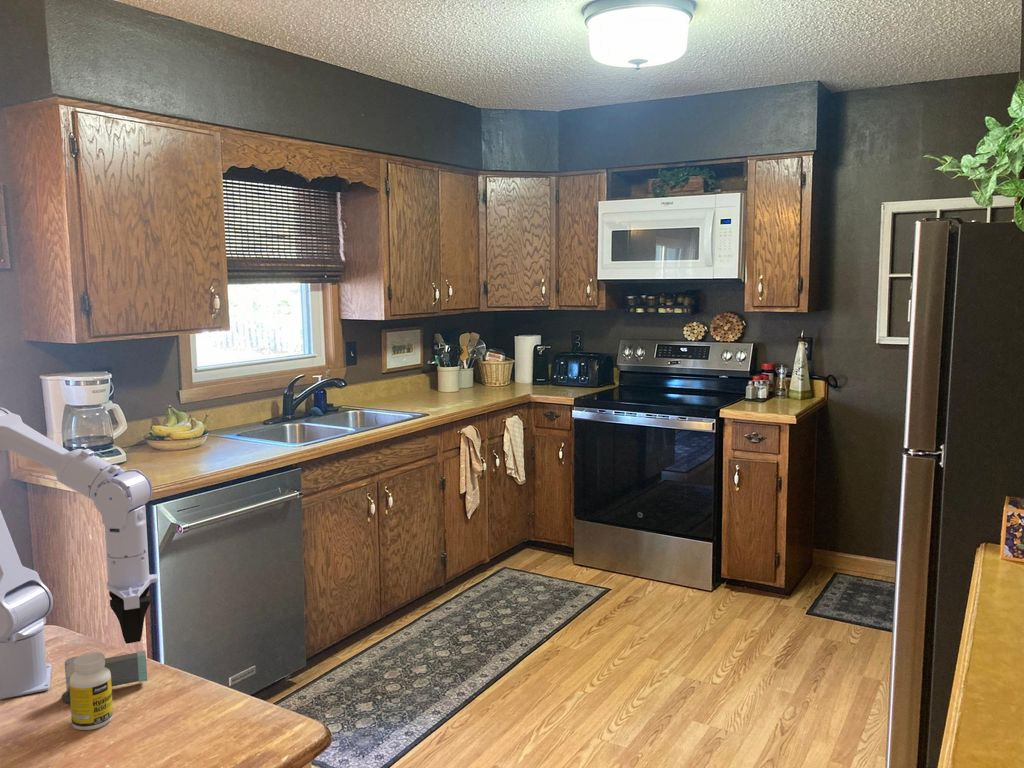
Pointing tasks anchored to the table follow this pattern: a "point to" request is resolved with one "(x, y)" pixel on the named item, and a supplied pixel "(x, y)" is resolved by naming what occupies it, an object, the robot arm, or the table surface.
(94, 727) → the supplement bottle
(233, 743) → the table surface
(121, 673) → the swing bar
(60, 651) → the table surface
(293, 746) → the table surface
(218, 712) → the table surface
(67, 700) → the pivot base
